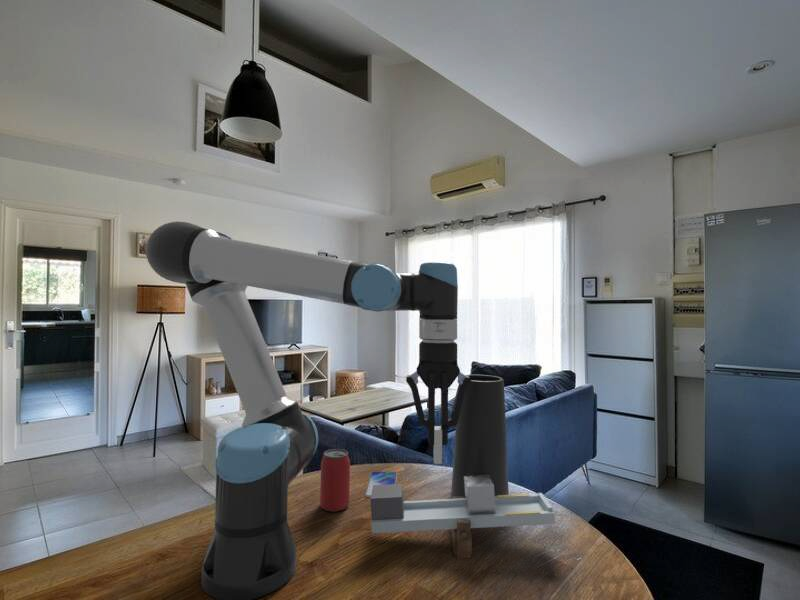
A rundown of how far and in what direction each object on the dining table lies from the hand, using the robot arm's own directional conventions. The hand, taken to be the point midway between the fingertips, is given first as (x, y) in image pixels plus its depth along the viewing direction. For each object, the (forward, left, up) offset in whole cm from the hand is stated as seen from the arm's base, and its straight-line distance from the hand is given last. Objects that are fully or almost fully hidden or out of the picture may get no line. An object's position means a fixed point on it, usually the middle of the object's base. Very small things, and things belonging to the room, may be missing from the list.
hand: (437, 461), depth 81 cm
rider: (+9, 0, -10) cm, 13 cm away
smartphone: (-12, +25, -16) cm, 32 cm away
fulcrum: (+5, 0, -15) cm, 16 cm away
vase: (+12, +19, -16) cm, 27 cm away
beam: (+5, 0, -11) cm, 12 cm away
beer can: (-22, +13, -16) cm, 30 cm away
